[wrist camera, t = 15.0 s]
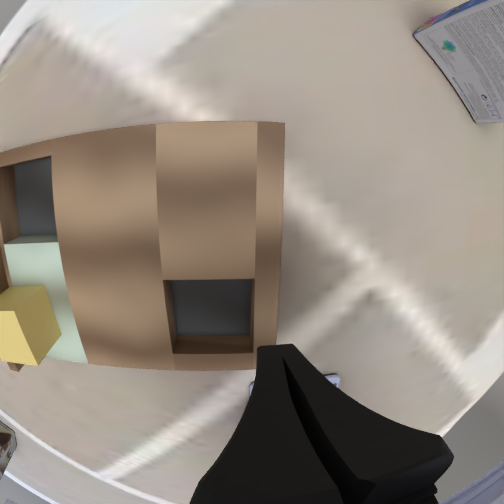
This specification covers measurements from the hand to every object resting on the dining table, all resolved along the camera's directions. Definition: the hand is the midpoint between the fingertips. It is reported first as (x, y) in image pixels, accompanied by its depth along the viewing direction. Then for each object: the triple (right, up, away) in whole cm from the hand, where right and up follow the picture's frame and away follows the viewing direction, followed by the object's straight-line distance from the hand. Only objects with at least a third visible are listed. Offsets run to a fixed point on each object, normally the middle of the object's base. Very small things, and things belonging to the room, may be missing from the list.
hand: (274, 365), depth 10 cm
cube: (-17, 0, +6) cm, 18 cm away
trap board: (-10, +4, +8) cm, 13 cm away
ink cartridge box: (+17, +21, +6) cm, 27 cm away
